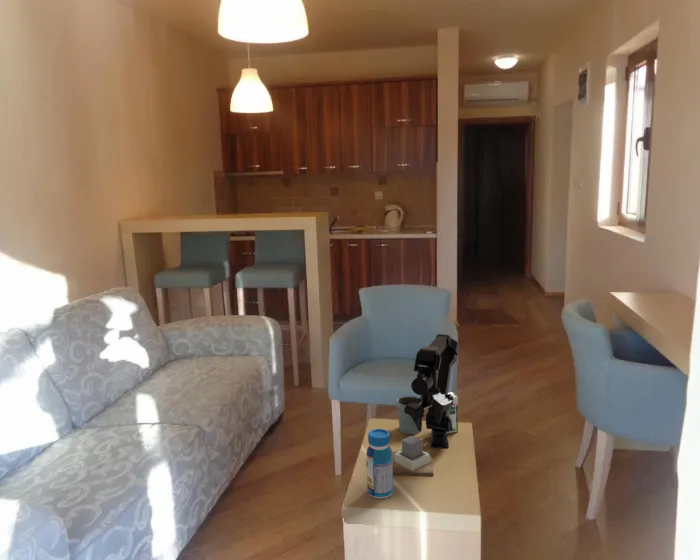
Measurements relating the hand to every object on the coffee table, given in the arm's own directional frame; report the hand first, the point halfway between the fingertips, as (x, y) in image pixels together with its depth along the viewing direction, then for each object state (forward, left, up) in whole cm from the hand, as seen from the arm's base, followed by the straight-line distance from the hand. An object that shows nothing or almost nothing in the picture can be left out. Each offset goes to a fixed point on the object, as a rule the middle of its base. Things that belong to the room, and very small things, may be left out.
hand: (429, 427), depth 195 cm
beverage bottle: (+22, -16, -12) cm, 30 cm away
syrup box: (-24, +8, -12) cm, 28 cm away
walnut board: (+4, -6, -12) cm, 14 cm away
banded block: (+4, -6, -11) cm, 13 cm away
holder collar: (+4, -6, -12) cm, 14 cm away
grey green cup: (-24, -7, -12) cm, 28 cm away
